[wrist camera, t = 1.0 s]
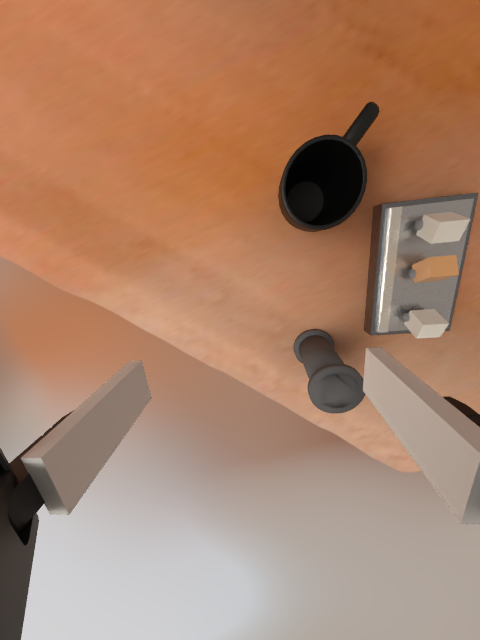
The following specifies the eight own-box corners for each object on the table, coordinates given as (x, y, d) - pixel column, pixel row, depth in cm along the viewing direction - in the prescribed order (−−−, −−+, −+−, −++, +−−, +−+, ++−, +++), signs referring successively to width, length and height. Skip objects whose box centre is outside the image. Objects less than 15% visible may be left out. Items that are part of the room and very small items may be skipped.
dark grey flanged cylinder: (293, 330, 37) (309, 368, 25) (333, 327, 36) (367, 365, 25) (294, 364, 38) (309, 414, 27) (332, 362, 38) (363, 412, 26)
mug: (368, 166, 29) (419, 129, 20) (307, 246, 32) (327, 246, 23) (319, 124, 28) (349, 65, 19) (262, 211, 31) (264, 197, 22)
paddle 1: (418, 213, 27) (437, 222, 24) (450, 209, 27) (473, 218, 24) (410, 233, 28) (428, 244, 26) (441, 230, 28) (461, 240, 25)
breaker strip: (373, 206, 30) (384, 203, 27) (462, 196, 29) (483, 191, 26) (364, 330, 36) (372, 336, 33) (438, 325, 34) (453, 332, 32)
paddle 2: (405, 308, 31) (420, 325, 28) (433, 306, 30) (451, 323, 27) (399, 321, 32) (413, 338, 29) (426, 319, 32) (442, 336, 29)
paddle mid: (406, 266, 30) (426, 257, 26) (435, 264, 29) (459, 254, 26) (408, 284, 30) (428, 277, 26) (437, 281, 29) (461, 274, 26)
